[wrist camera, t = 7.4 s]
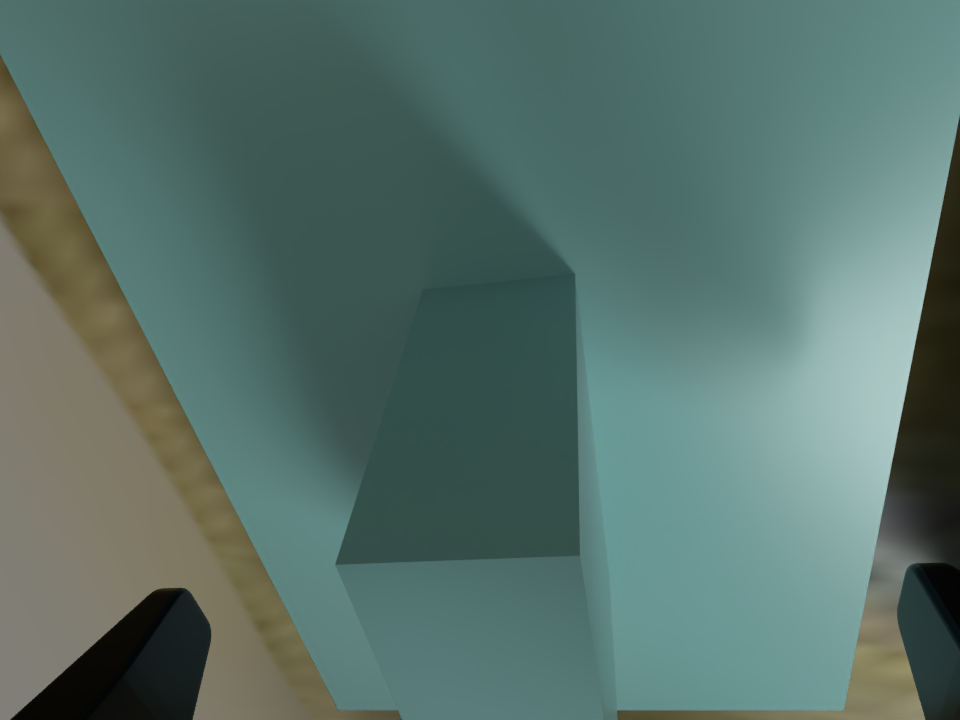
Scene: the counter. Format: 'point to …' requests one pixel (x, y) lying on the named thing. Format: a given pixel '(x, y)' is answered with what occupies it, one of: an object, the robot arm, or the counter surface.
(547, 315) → the lid
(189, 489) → the counter surface
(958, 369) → the counter surface
